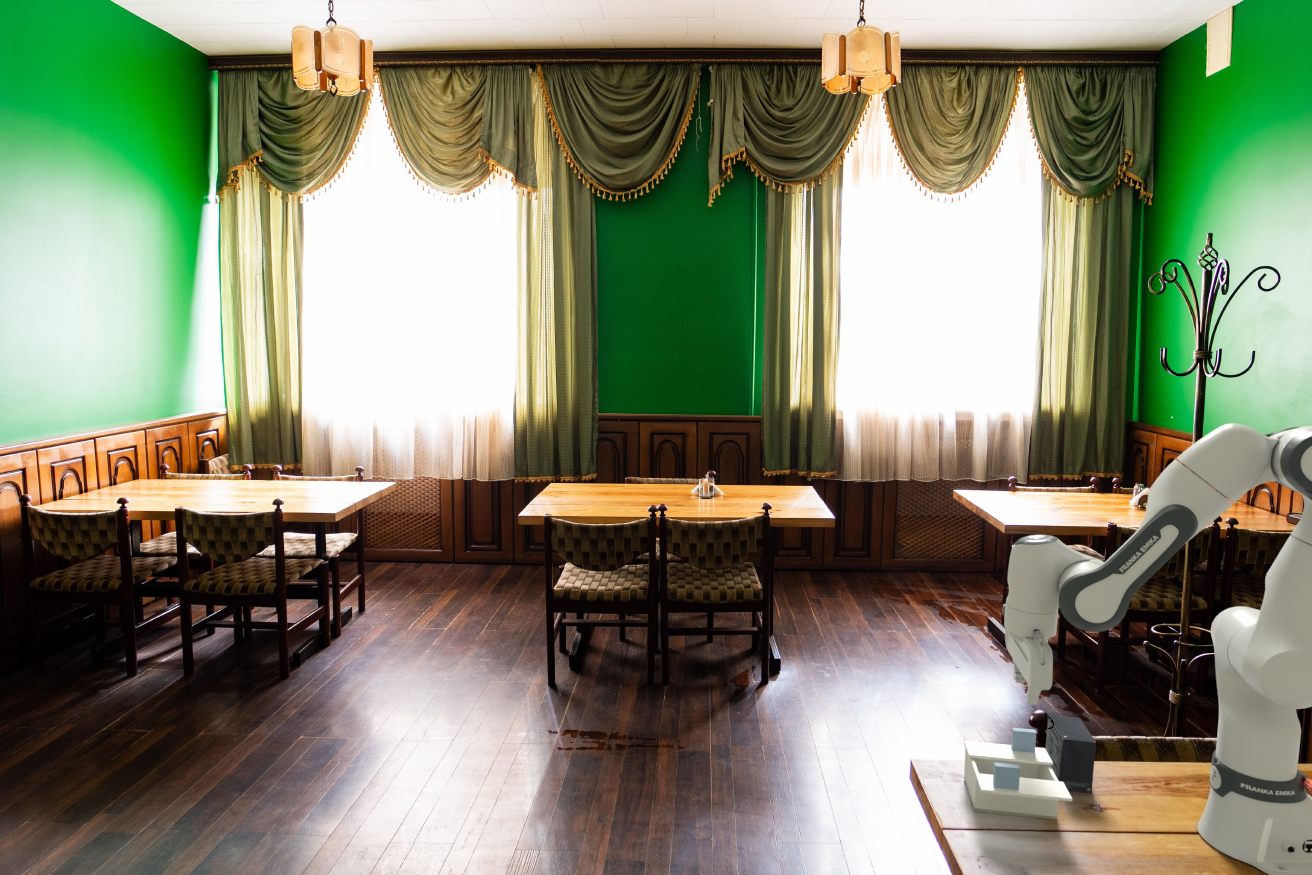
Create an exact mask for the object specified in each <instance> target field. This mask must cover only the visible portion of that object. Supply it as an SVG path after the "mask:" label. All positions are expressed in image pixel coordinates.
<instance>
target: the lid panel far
mask: <svg viewBox="0 0 1312 875" xmlns="http://www.w3.org/2000/svg"><path fill="white" fill-rule="evenodd" d="M1010 739H1011V740H1010V741H1011V742H1010V744H1004V743H1003V744H1002V743H993V742H982V741H970V740H964V741H963V744H964V747H965V749H966V750H967V753H968V756H969V757H971V758H982V759H992V760H1003V761H1013V762H1023V763H1034V764H1044V765H1053V762H1052V760H1051V758H1050V756H1049V755H1048V753H1047V751H1046V749H1045V748H1046V747H1038V746H1037V745H1036V744H1037V743H1036V742H1037V732H1036V729H1032V728H1020V727H1012V728H1011V738H1010Z"/></svg>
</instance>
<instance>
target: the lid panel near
mask: <svg viewBox="0 0 1312 875" xmlns="http://www.w3.org/2000/svg"><path fill="white" fill-rule="evenodd" d="M975 776H976V779H977V782H978V784H979V787H980V790H981V792H985V793H995V794H1004V795H1014V796H1024V797H1033V798H1043V799H1053V800H1059V801H1064V802H1073V797H1072V795H1071V794H1070V792H1069V790H1067V788H1066V786H1065V784H1064V782H1061V781H1051V780H1041V779H1031V778H1021V777H1020V767H1019V765H1014V764H1004V763H994V772H993V775H990V774H980V773H976V774H975Z"/></svg>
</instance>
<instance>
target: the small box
mask: <svg viewBox="0 0 1312 875" xmlns="http://www.w3.org/2000/svg"><path fill="white" fill-rule="evenodd" d="M1048 716H1049V717H1050V718H1051V719H1052V720H1053V722H1054V726H1053V723H1052V722H1051V719H1049V717H1048ZM1052 726H1053V728H1052V729H1048V728H1050V727H1052ZM1046 727H1047V728H1046V739H1045V747H1044V748H1045V749H1046V751H1047V753H1048V755H1049V756H1050V758H1051V760H1052V762H1053V765H1050V766H1051V768H1052V770H1053V772H1054V773H1055V775H1056V777H1057V779H1058V781H1061V782H1064V784H1065V786H1066V788H1067V790H1068V792H1069V791H1070V792H1079V793H1087V794H1092V792H1093V783H1094V782H1093V781H1094V769H1095V768H1094V767H1095V758H1096V746H1097V742H1096V739H1095V738H1094V737H1093V736H1092V734H1091V733H1090V731H1089V730H1088V728H1087V727H1086V725H1085V724H1084V722H1083V721H1082V719H1081V718H1080V717H1076V716H1066V715H1060V714H1059V715H1058V714H1050V713H1048V714H1047V725H1046Z"/></svg>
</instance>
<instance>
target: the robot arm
mask: <svg viewBox="0 0 1312 875" xmlns="http://www.w3.org/2000/svg"><path fill="white" fill-rule="evenodd" d="M1269 482H1274V483H1275V484H1278V485H1280V486H1283V487H1285V488H1287V489H1289V491H1293V492H1296V493H1298V494H1300V495H1301V497H1302V499H1303V503H1304V504H1303V506H1304V507H1303V510H1302V511H1303V512H1302V514H1301V518H1300V519H1299V521H1298V523H1297V524H1296V525H1295V527H1294V528H1293V530H1292V531H1291V533H1290V535H1289V537H1288V538H1287V540H1286V541H1285V543H1284V545H1283V546H1282V548H1281V549H1280V551H1279V552H1278V554H1277V556H1276V558H1275V559H1274V561H1273V562H1272V565H1271V566H1270V568H1269V569H1268V571H1267V572H1266V574H1265V579H1264V580H1265V581H1264V584H1265V585H1264V587H1265V588H1264V589H1265V590H1264V594H1263V600H1262V604H1261V607H1260V609H1256V608H1253V607H1249V606H1244V605H1242V606H1232V607H1228V608H1226V609H1224V610H1222V611H1221V612H1219V613H1218V615H1216V616H1215V617H1214V619H1213V621H1212V623H1211V625H1210V626H1211V627H1210V636H1211V639H1212V643H1213V649H1214V650H1213V651H1214V663H1215V664H1214V667H1215V680H1216V689H1217V697H1218V724H1217V736H1216V748H1215V750H1214V751H1213V753H1212V758H1211V766H1210V770H1209V771H1210V772H1209V780H1210V781H1209V785H1210V790H1209V794H1208V796H1207V797H1208V798H1207V802H1206V805H1205V807H1204V810H1203V813H1202V815H1201V817H1200V819H1199V821H1198V823H1197V824H1196V827H1197V832H1198V833H1199V835H1200V836H1201V837H1202V839H1204V840H1205V841H1206V843H1208V844H1209V845H1210V846H1211V847H1213V848H1214V849H1215V850H1218V851H1219V852H1221V853H1223V854H1225V855H1227V856H1229V857H1231V858H1233V859H1236V860H1238V861H1241V862H1244V863H1246V864H1248V865H1252V866H1253V867H1255V868H1256V869H1258V870H1260V871H1262V872H1263V873H1265V874H1268V875H1312V796H1311V795H1312V779H1309V778H1308V776H1307V774H1305V773H1304V772H1303V771H1301V770H1300V769H1298V766H1299V765H1298V764H1299V756H1300V755H1299V754H1300V744H1301V737H1302V736H1301V735H1302V728H1301V723H1300V720H1299V718H1298V714H1297V710H1301V709H1307V708H1312V425H1304V426H1294V427H1289V428H1285V429H1282V430H1281V429H1280V430H1278V431H1274V432H1270V433H1267V434H1262V433H1261V432H1260V431H1259V430H1257V429H1256V428H1253V427H1251V426H1249V425H1245V424H1243V423H1237V422H1236V423H1235V422H1231V423H1225V424H1223V425H1220V426H1218V427H1216V428H1215V429H1214V430H1211V431H1210V432H1208V433H1207V434H1205V435H1204V436H1203V437H1201V438H1200V439H1198V440H1197V441H1196V442H1195V443H1193V444H1191V446H1189V447H1187V448H1186V450H1184V451H1183V452H1182V453H1180V455H1178V456H1177V457H1176V458H1175V459H1174V460H1173V461H1172V462H1171V463H1170V464H1168V465H1167V467H1165V468H1164V469H1163V471H1162V472H1160V474H1159V476H1158V477H1157V478H1156V479H1155V481H1154V482H1153V483H1152V484H1151V487H1150V488H1149V491H1148V494H1147V501H1146V502H1147V503H1146V508H1145V513H1144V516H1143V519H1142V521H1141V523H1140V524H1139V527H1138V528H1137V530H1135V532H1134V533H1132V535H1131V536H1130V537H1129V538H1128V539H1127V540H1126V541H1125V542H1124V543H1123V544H1122V545H1121V546H1120V547H1119V548H1117V550H1116V551H1115V552H1114V553H1112V554H1111V555H1110V556H1109V558H1108V559H1107V560H1106V561H1103V560H1102V559H1100V558H1096V557H1093V556H1091V555H1087V554H1085V553H1083V552H1080V551H1078V550H1076V549H1074V548H1072V547H1070V546H1068V545H1066V544H1065V543H1063V541H1061V540H1060V539H1059V538H1058V537H1056V536H1053V535H1048V534H1031V535H1026V536H1023V537H1020V538H1019V539H1017V540H1016V541H1015V542H1014V543H1013V546H1012V548H1011V551H1010V556H1009V561H1008V569H1007V585H1008V593H1007V594H1008V595H1007V597H1006V599H1005V600H1006V601H1005V603H1004V604H1002V615H1003V617H1004V622H1003V623H1004V625H1003V626H1004V641H1005V647H1006V650H1007V651H1008V654H1009V655H1010V656H1011V658H1012V665H1013V680H1014V682H1016V683H1018V684H1024V683H1026V684H1027V691H1026V692H1025V700H1026V702H1027V704H1028V705H1030V706H1031V705H1032V706H1037V705H1038V704H1039V698H1040V694H1041V692H1042V691H1049V690H1050V689H1051V688H1052V686H1053V673H1054V672H1053V671H1054V670H1053V666H1054V661H1053V660H1054V656H1053V650H1052V647H1051V646H1050V645H1049V643H1048V642H1049V639H1050V638H1053V637H1055V636H1056V635H1057V629H1058V628H1057V627H1058V619H1059V618H1058V616H1059V610H1060V612H1061V614H1062V616H1063V617H1064V619H1065V620H1066V621H1067V622H1069V624H1071V625H1072V626H1074V627H1076V628H1078V629H1079V630H1082V631H1086V632H1090V633H1091V632H1092V633H1100V632H1106V631H1108V630H1112V629H1113V628H1115V627H1116V626H1118V625H1119V624H1121V622H1122V621H1123V619H1124V618H1125V616H1126V614H1127V611H1128V610H1129V606H1130V603H1131V601H1132V599H1133V598H1134V596H1135V595H1136V593H1137V592H1138V591H1139V590H1140V588H1141V587H1143V585H1144V584H1146V583H1147V581H1149V579H1151V578H1152V577H1153V576H1154V574H1156V573H1157V572H1158V571H1159V570H1160V569H1161V568H1162V567H1163V566H1165V564H1166V563H1167V562H1168V561H1169V560H1170V559H1171V558H1173V557H1174V555H1176V554H1177V552H1178V551H1179V550H1181V549H1182V547H1183V546H1184V545H1185V544H1187V543H1188V542H1189V541H1190V540H1192V539H1193V538H1194V537H1195V536H1196V535H1198V534H1199V532H1201V531H1203V530H1204V529H1205V528H1206V527H1208V526H1209V525H1210V524H1212V523H1213V522H1214V521H1216V519H1218V518H1219V517H1221V515H1222V514H1224V513H1225V512H1226V511H1228V510H1229V509H1230V508H1231V507H1232V506H1233V505H1234V504H1235V503H1237V502H1238V501H1239V500H1240V499H1241V498H1243V496H1244V495H1245V494H1246V493H1247V492H1249V491H1250V490H1253V489H1254V488H1255V487H1257V486H1259V485H1261V484H1265V483H1269ZM1307 791H1308V792H1307Z"/></svg>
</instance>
